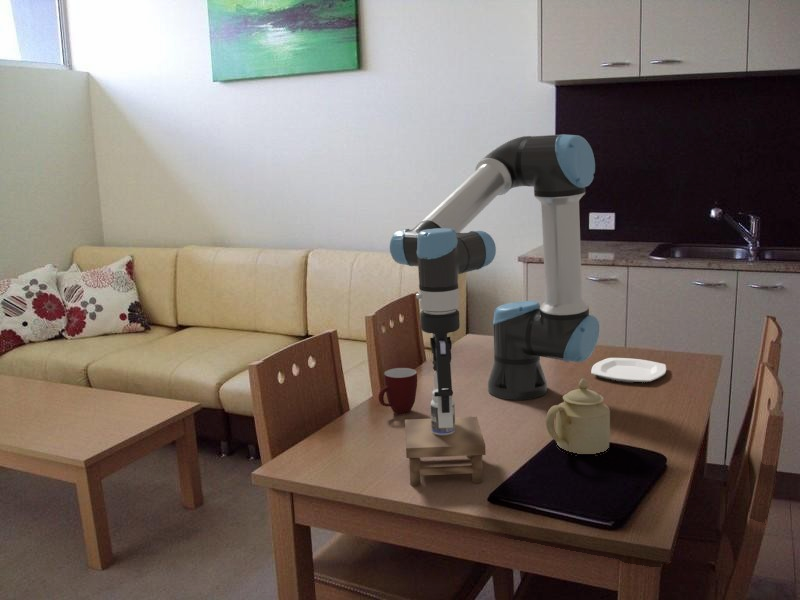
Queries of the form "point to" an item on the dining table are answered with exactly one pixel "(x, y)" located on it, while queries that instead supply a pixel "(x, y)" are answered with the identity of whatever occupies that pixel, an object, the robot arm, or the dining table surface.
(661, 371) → the plate
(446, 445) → the small wooden bench
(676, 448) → the dining table surface
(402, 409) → the mug
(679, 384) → the dining table surface
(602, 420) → the sugar bowl
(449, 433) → the pill bottle
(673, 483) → the dining table surface
